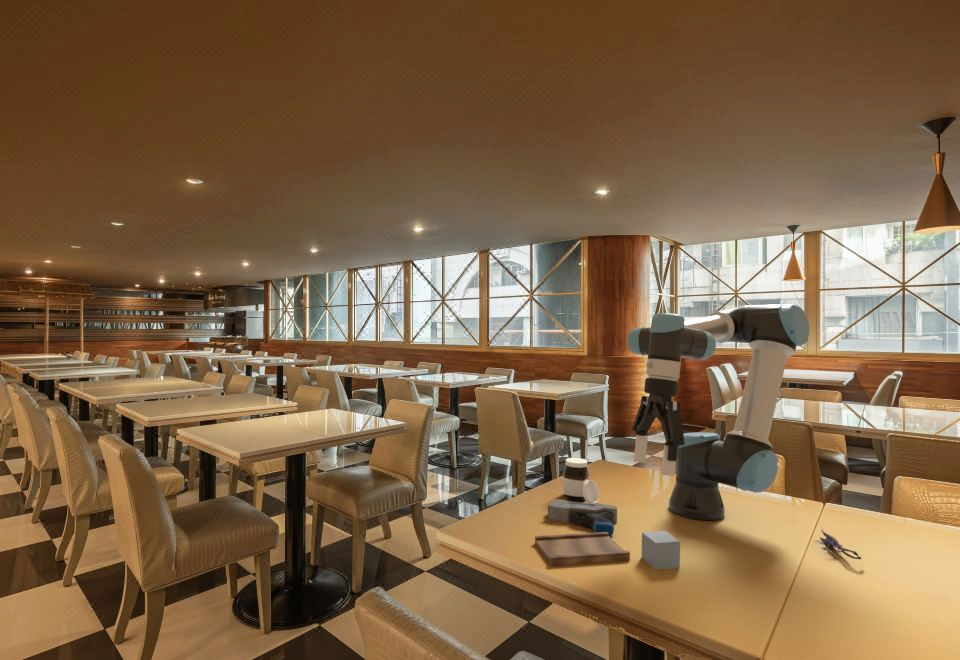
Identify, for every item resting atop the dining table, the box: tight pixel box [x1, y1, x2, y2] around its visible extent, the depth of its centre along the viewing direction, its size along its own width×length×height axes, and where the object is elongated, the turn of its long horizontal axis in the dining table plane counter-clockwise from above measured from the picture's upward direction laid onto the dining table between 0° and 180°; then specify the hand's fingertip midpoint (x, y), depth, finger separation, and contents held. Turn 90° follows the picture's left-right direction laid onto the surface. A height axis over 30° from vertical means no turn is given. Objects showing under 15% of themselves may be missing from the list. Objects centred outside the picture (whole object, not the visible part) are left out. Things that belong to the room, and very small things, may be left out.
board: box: [534, 532, 631, 567], centre depth 121 cm, size 19×12×2 cm, turn 101°
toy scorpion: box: [814, 527, 862, 560], centre depth 124 cm, size 6×18×5 cm, turn 168°
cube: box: [641, 530, 681, 571], centre depth 116 cm, size 6×6×6 cm
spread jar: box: [562, 457, 600, 503], centre depth 159 cm, size 12×11×12 cm
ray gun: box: [547, 498, 618, 537], centre depth 138 cm, size 4×19×15 cm
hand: (652, 468), depth 120 cm, fingers open, 13 cm apart
